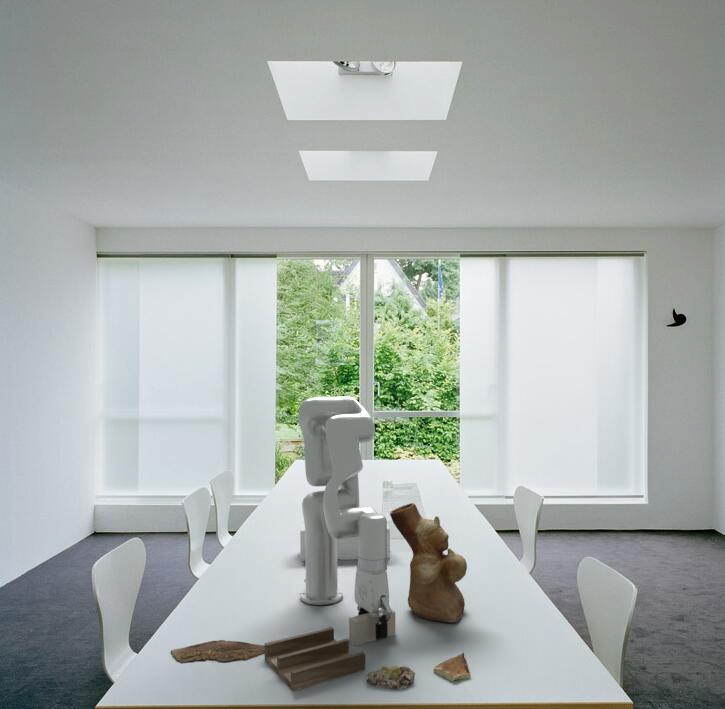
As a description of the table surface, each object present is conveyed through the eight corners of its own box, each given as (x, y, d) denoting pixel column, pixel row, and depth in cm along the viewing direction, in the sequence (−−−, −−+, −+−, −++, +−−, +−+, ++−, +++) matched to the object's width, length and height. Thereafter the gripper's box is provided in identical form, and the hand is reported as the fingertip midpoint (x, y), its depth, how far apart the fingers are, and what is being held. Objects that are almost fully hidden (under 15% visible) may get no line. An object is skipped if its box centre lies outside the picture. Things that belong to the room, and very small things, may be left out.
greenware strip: (349, 641, 158) (349, 617, 158) (389, 631, 164) (389, 608, 165) (355, 646, 156) (355, 621, 156) (395, 635, 162) (395, 612, 162)
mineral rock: (411, 660, 144) (416, 666, 136) (412, 681, 143) (418, 689, 135) (364, 664, 143) (367, 670, 135) (365, 685, 142) (368, 693, 134)
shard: (463, 658, 150) (463, 651, 150) (489, 670, 144) (488, 662, 144) (432, 673, 143) (432, 665, 143) (457, 686, 137) (457, 678, 137)
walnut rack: (264, 659, 149) (264, 643, 149) (331, 641, 158) (331, 626, 158) (293, 690, 135) (293, 673, 135) (365, 669, 144) (365, 653, 144)
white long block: (386, 549, 235) (386, 521, 236) (390, 558, 225) (389, 528, 225) (301, 552, 233) (301, 523, 233) (300, 561, 222) (300, 530, 223)
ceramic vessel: (461, 628, 165) (460, 514, 166) (382, 617, 173) (382, 508, 173) (472, 606, 180) (471, 502, 180) (399, 597, 188) (398, 496, 188)
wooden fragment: (164, 664, 147) (164, 660, 147) (176, 643, 158) (176, 639, 158) (274, 663, 148) (274, 658, 148) (279, 642, 159) (279, 638, 159)
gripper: (343, 556, 166) (343, 623, 166) (377, 575, 151) (378, 648, 151) (367, 551, 170) (367, 617, 170) (403, 570, 155) (404, 641, 155)
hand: (372, 631), depth 160 cm, fingers open, 7 cm apart
